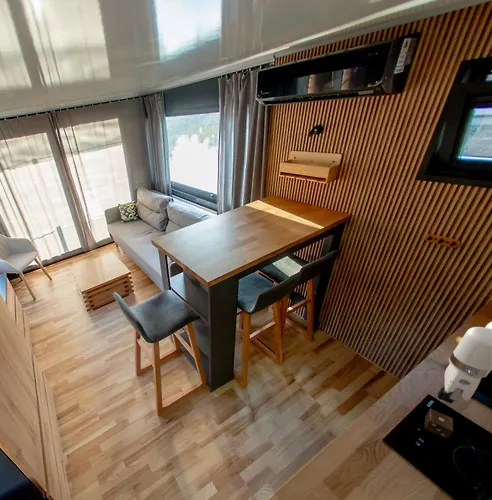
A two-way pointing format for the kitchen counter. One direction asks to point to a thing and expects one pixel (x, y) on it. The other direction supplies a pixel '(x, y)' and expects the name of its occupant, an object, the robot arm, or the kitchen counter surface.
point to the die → (439, 423)
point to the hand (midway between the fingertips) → (444, 398)
